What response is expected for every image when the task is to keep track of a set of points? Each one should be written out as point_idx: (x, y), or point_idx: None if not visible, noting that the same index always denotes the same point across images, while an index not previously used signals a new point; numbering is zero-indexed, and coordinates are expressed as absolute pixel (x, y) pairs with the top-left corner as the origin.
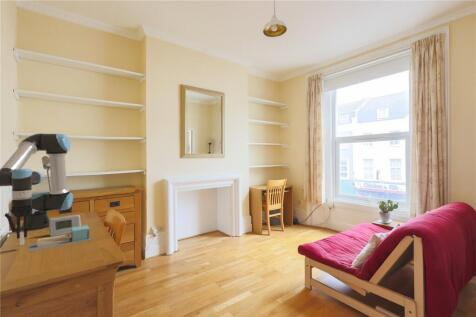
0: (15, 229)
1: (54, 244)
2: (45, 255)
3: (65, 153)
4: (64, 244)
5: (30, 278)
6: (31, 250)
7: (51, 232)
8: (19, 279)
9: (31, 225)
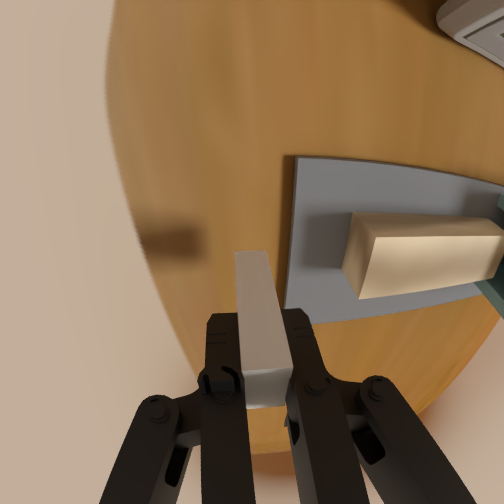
0: (193, 445)
1: None
2: (338, 375)
3: None
4: (437, 301)
5: (278, 445)
6: None
7: (470, 28)
8: (260, 445)
9: (379, 450)
